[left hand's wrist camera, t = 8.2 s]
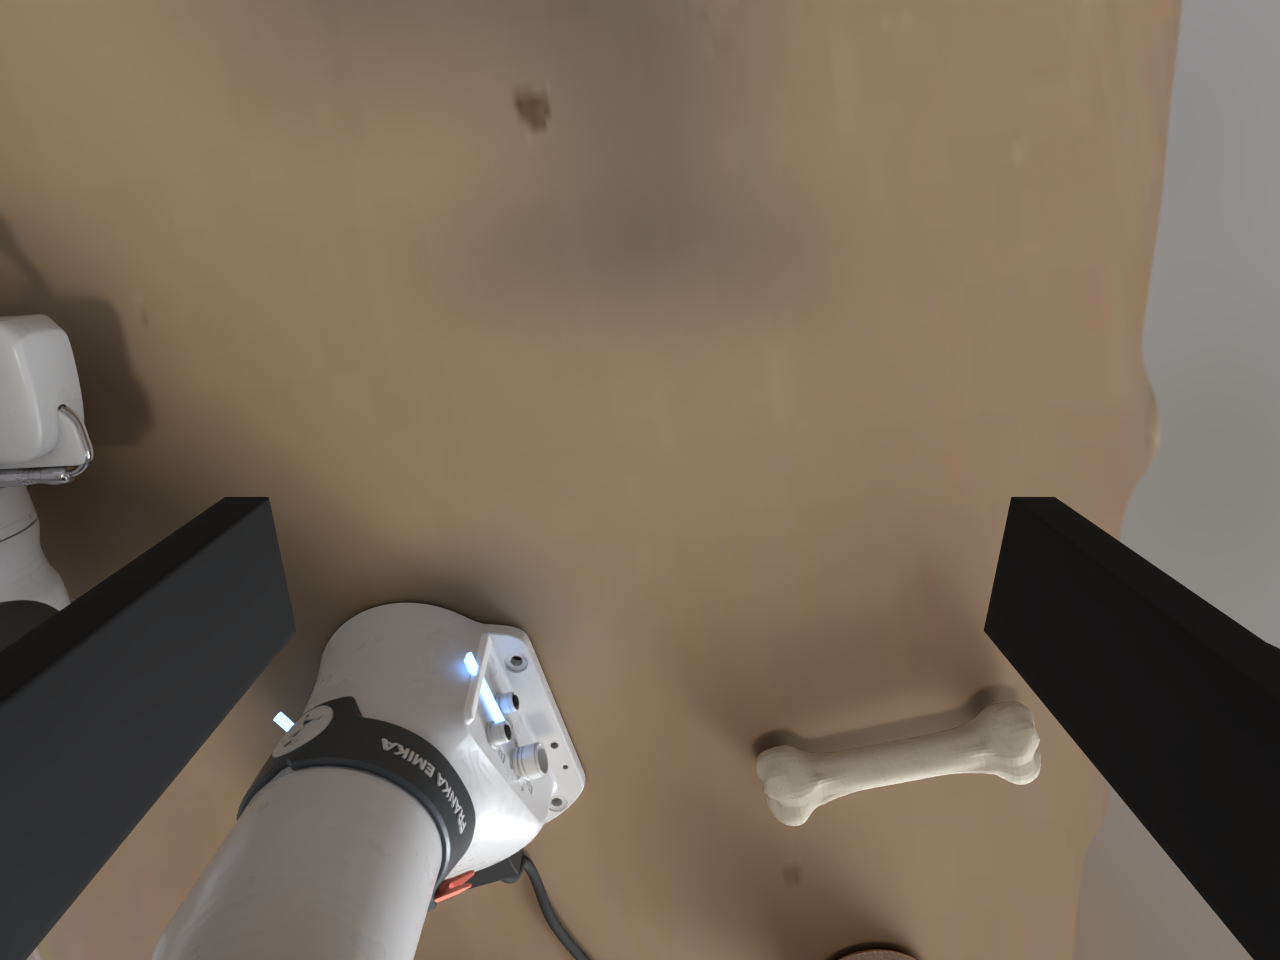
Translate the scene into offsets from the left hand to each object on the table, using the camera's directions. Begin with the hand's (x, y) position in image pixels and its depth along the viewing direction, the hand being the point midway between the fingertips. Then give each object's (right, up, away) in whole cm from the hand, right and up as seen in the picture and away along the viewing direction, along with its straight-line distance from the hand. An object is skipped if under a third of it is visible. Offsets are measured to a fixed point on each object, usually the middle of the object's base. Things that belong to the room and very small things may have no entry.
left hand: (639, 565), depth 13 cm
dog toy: (+19, -18, +41) cm, 49 cm away
